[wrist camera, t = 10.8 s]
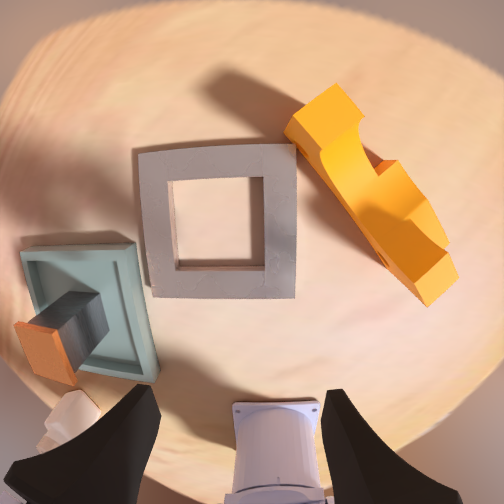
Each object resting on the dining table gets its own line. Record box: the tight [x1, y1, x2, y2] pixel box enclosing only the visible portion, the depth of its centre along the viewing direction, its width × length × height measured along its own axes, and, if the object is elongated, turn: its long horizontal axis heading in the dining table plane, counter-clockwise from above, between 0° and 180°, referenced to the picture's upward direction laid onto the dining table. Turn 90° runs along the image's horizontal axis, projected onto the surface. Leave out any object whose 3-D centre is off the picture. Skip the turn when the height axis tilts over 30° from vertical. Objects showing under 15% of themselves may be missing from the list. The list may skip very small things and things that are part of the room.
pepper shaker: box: [36, 390, 101, 454], centre depth 21 cm, size 4×4×10 cm
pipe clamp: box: [283, 83, 459, 307], centre depth 15 cm, size 12×4×6 cm, turn 41°
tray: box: [20, 243, 161, 383], centre depth 20 cm, size 12×12×2 cm
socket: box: [138, 144, 297, 299], centre depth 18 cm, size 10×10×1 cm
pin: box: [14, 291, 110, 386], centre depth 17 cm, size 4×4×7 cm
